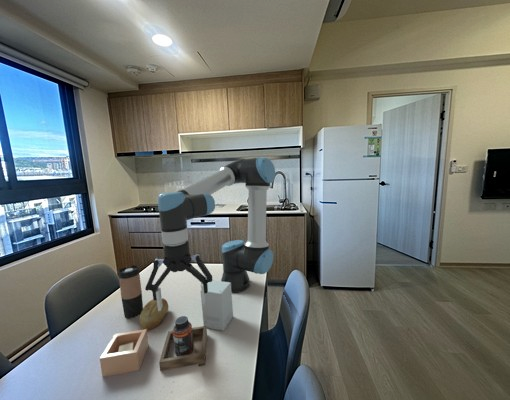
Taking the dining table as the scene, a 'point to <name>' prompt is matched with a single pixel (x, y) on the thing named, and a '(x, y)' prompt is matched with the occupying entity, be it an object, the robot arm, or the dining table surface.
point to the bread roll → (152, 314)
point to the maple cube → (126, 347)
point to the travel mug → (131, 291)
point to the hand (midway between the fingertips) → (182, 305)
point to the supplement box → (217, 305)
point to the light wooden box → (124, 353)
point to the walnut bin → (186, 360)
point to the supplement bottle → (183, 336)
